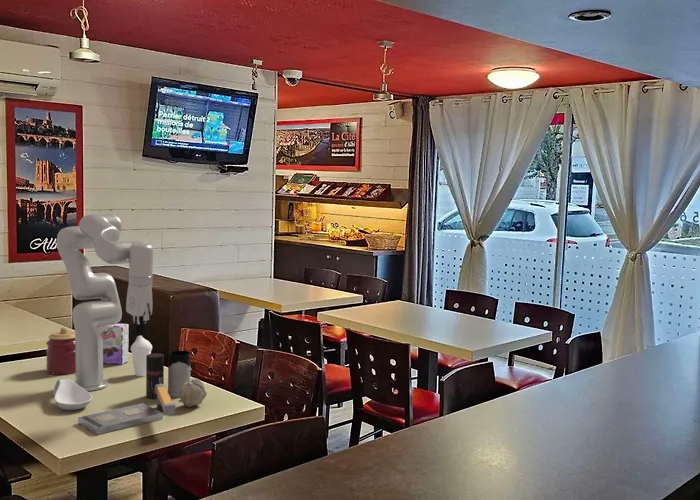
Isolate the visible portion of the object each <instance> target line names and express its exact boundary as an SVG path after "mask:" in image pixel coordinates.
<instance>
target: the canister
mask: <svg viewBox="0 0 700 500" xmlns="http://www.w3.org/2000/svg"><path fill="white" fill-rule="evenodd" d="M45 344H46V345H47V349H46V351H45V352H46V372H47V373H48V372H49V373H48V374H50V373H54V374H53V375H58V374H60V375H70V374H69V373H71V374H76V352H75V331H72V330H68V329H67V327H66V326H64V327H63V326H62V327H61V328H60V329H59V331H56V332H55V331H54V332H52V333H51V334H50V335H48V340H47V341H46V342H45Z"/></svg>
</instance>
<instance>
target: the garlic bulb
mask: <svg viewBox="0 0 700 500" xmlns="http://www.w3.org/2000/svg"><path fill="white" fill-rule="evenodd" d="M207 393H208V392H207V391H206V388H205V386H204V384H203V382H202V381H201V380H200V379H199V378H197V377H193V378H192V379H190V381H189V382H186V383H184V384H183V385H182V387H181V389H180V392H179V396H180V397H179V399H177V402H179V403H182V404H183V405H184V406H186V407H188V408H191V407H193V406H198V405H200V404H202V402H203V400H204V399H205V398H206V397H207Z"/></svg>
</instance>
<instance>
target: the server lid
mask: <svg viewBox="0 0 700 500" xmlns="http://www.w3.org/2000/svg"><path fill="white" fill-rule="evenodd" d="M154 408H155V407H151V406H149V405H147V404H145V403H143V402H142V403H138V404H133V405H128V406H124V407H118V408H114V409H110V410H105V411H102V412H97V413H93V414H87V415H83V416H79V417H77V424H78V425H80V426H82V427H83V428H85V429H86V430H88V431H90V432H91V433H93V434H95V435H96V436H98V435H102V434H106V433H111V432H114V431H119V430H122V429H126V428H127V429H128V428H131V427H134V426H138V425H144V424H146V423H147V424H148V423H152V422H155V421H160V420H163V419H164V418H163V417H164V416H163V413H162V412H160V411H158V410H156V409H154Z"/></svg>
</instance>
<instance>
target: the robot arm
mask: <svg viewBox="0 0 700 500" xmlns="http://www.w3.org/2000/svg"><path fill="white" fill-rule="evenodd" d="M122 224H123V223H122V221H121V219H120V217H118V216H117V214H113V213H91V214H90V213H89V214H86V215H84V216H82V217H81V219H80V220H79V222H78V225H75V226H67V227H64V228H61V229H60V230H59V231H58V233H57V236H56V247H57V250H58V254H59V256H60V259H61V260H62V262H63V264H64V266H65V271H66V274H67V278H68V279H67V280H68V284H69V288H70V291H71V295H72V297H73V298H74V299H75V300H80V301H81V300H83V301H84V300H93V299H100V300H94V301H85V302H81V303H79V304H77V305H75V306H74V307H73V309H72V314H71V315H72V316H71V317H72V322H73V323H72V324H73V328H74V332H75V352H76V372H75V373H74V374H75V375H74V377H75V381H74V382H75V383H76V384H77V385H79V386H80V387H82V388H83V389H85V390H86V391H88V392H90V391H92V392H93V391H98V390H102V389H104V388H106V387H107V386H108V381H107V380H106V379H104V363H103V338H102V336H101V334H100V333H99V332H98V330H97V329H96V328H97V327H100V326H108V325H114V324H119V323H120V321H122V315H123V311H122V305H121V301H120V297H119V293H118V289H117V285H116V281H115V279H114V277H113V276H112V275H111V274H110V273H107V272H95V273H94V272H93V270H92V267H91V263H90V261H89V258H87V256H86V255H85V254H84V253H82V252H81V251H80V250H87V249H94V251H95V254H96V256H97V257H99V259H101V260H102V261H103V262H104V263H107V264H111V265H119V264H121V265H122V264H128V286H127V292H126V301H125V302H126V303H125V304H126V305H125V312H126V313H128V314H129V315H130V316H132V322H133V335H134V336H136V337H138V336H142V337H143V336H145V334H146V324H147V321H149V320H150V316H151V315H152V314H153V290H152V289H153V288H152V287H153V275H154V273H153V272H154V269H153V268H154V267H153V266H154V247H153V245H150V244H148V243H144V242H142V241H140V240H120V234H121V232H122V229H123V227H122V226H123V225H122Z"/></svg>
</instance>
